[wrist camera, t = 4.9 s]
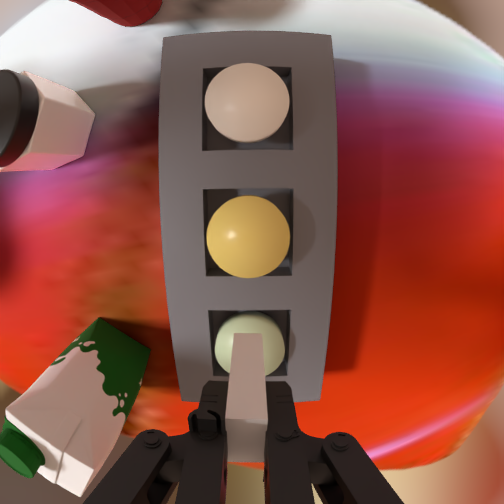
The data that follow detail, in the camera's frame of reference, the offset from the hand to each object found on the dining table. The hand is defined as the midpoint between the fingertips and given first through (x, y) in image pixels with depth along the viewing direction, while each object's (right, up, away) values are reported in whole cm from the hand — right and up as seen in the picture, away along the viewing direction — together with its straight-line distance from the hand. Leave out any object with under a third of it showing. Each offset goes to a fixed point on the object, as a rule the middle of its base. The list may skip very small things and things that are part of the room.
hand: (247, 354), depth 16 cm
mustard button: (0, +7, +8) cm, 11 cm away
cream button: (0, +17, +6) cm, 18 cm away
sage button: (0, -2, +11) cm, 11 cm away
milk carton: (-16, -7, +16) cm, 24 cm away
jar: (-20, +19, +10) cm, 29 cm away
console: (0, +8, +13) cm, 15 cm away
